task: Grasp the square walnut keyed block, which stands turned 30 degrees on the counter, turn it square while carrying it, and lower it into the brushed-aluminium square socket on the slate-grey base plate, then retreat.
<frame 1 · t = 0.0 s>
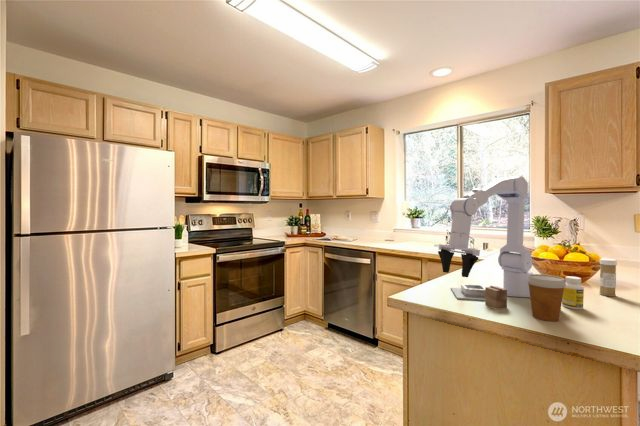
hand: (454, 274, 101), 11 cm above the table, tool pointing down, fingers open, 7 cm apart
collar: (474, 290, 114), on the socket plate, point 1 cm above the table
disposable coffee cup: (545, 318, 91), on the table
socket plate: (474, 295, 114), on the table
supplement bottle: (550, 309, 99), on the table
sprinkles bottle: (607, 295, 114), on the table
keyed block: (495, 306, 102), on the table
supplement bottle 2: (572, 307, 100), on the table
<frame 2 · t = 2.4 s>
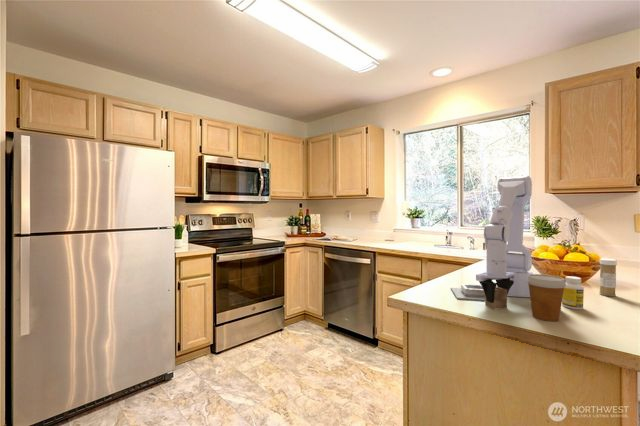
hand: (495, 301, 102), 2 cm above the table, tool pointing down, fingers closed on keyed block, 4 cm apart
keyed block: (495, 306, 102), on the table, touching gripper
everything else where it was.
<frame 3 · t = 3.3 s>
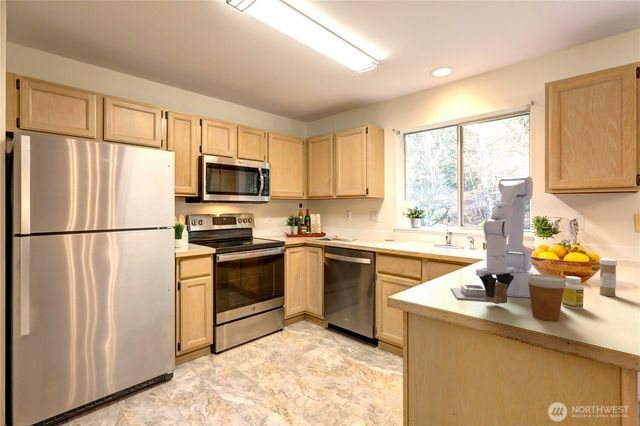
hand: (496, 296, 102), 3 cm above the table, tool pointing down, fingers closed on keyed block, 4 cm apart
keyed block: (496, 301, 102), point 2 cm above the table, touching gripper
everything else where it was.
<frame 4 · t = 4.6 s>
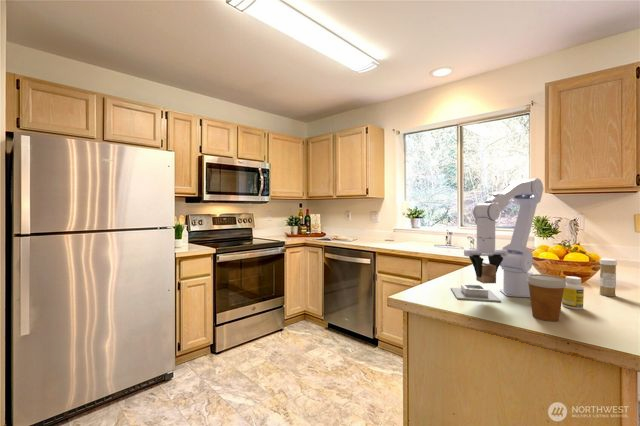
hand: (485, 276, 107), 9 cm above the table, tool pointing down, fingers closed on keyed block, 4 cm apart
keyed block: (485, 281, 107), point 7 cm above the table, touching gripper
everything else where it was.
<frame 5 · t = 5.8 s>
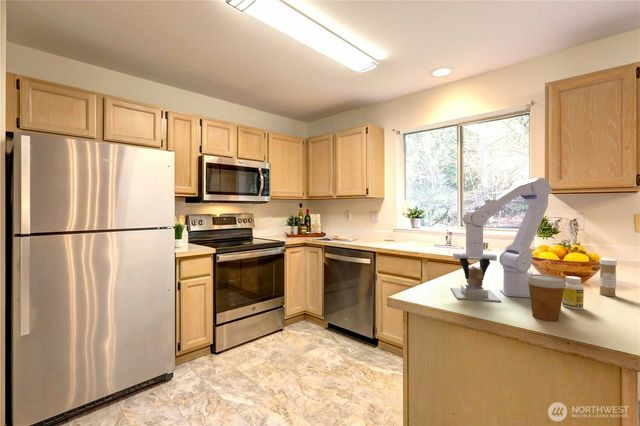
hand: (474, 279, 114), 6 cm above the table, tool pointing down, fingers closed on keyed block, 4 cm apart
keyed block: (474, 284, 114), point 4 cm above the table, touching gripper
everything else where it was.
when the fingers open (3 cm above the table, at t = 6.8 s): keyed block stays where it is, resting on socket plate.
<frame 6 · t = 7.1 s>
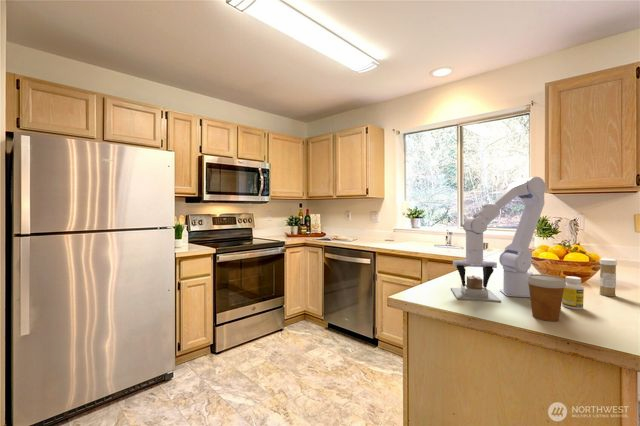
hand: (474, 286, 114), 3 cm above the table, tool pointing down, fingers open, 7 cm apart
keyed block: (474, 293, 114), point 1 cm above the table, touching socket plate
everything else where it was.
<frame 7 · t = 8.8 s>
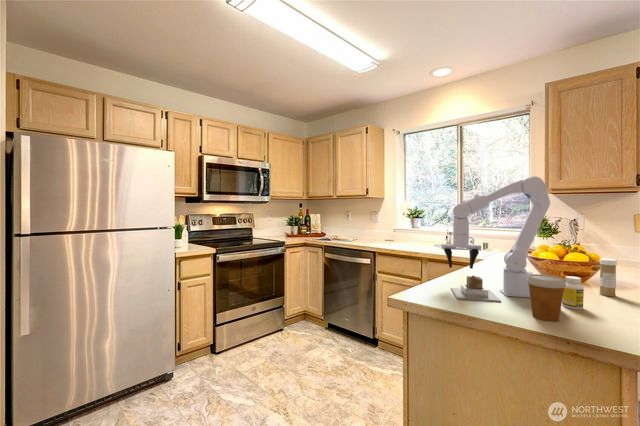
hand: (460, 267, 123), 8 cm above the table, tool pointing down, fingers open, 7 cm apart
nothing on the table moved.
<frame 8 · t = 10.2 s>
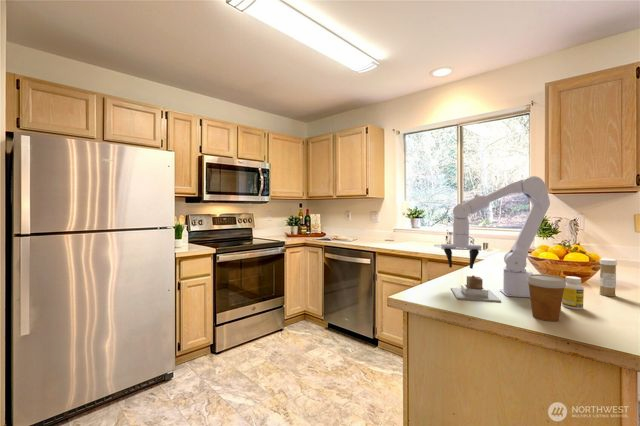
hand: (460, 267, 124), 8 cm above the table, tool pointing down, fingers open, 7 cm apart
nothing on the table moved.
at the end: keyed block 0.3 cm off-centre on the collar, point 0.6 cm above the collar's base; keyed block tilted 0°; the gripper is holding nothing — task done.
